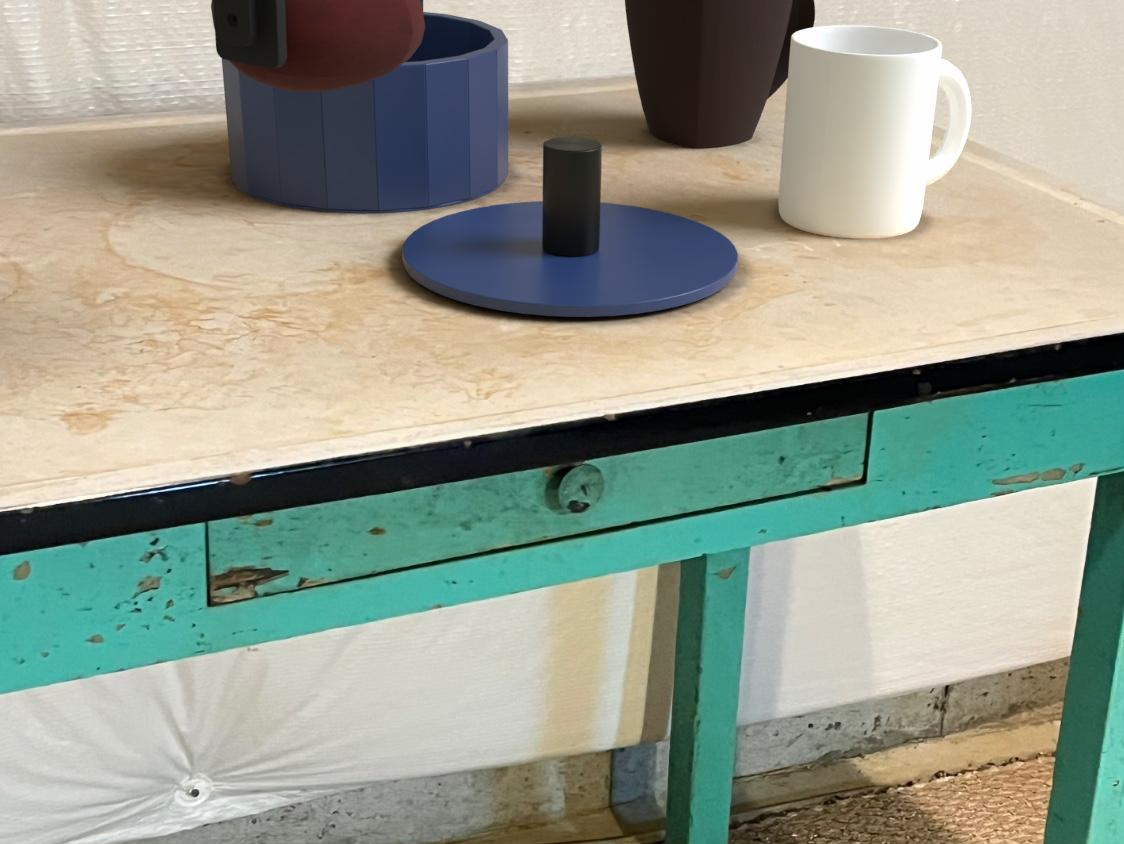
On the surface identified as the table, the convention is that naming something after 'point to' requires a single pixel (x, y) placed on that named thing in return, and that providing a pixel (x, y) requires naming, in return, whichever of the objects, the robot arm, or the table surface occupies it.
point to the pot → (380, 130)
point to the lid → (570, 249)
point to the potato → (342, 43)
